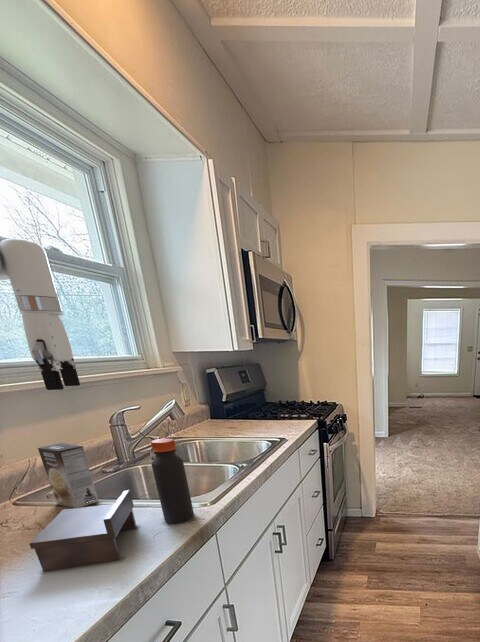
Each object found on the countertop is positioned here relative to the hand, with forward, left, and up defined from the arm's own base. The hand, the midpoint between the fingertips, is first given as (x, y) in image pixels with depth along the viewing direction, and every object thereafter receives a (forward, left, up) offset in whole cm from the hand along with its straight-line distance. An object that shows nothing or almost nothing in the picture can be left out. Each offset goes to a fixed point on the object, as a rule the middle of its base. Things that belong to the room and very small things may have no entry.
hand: (64, 387), depth 95 cm
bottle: (+21, -14, -32) cm, 40 cm away
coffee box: (-7, +8, -32) cm, 33 cm away
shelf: (+5, -24, -31) cm, 40 cm away
